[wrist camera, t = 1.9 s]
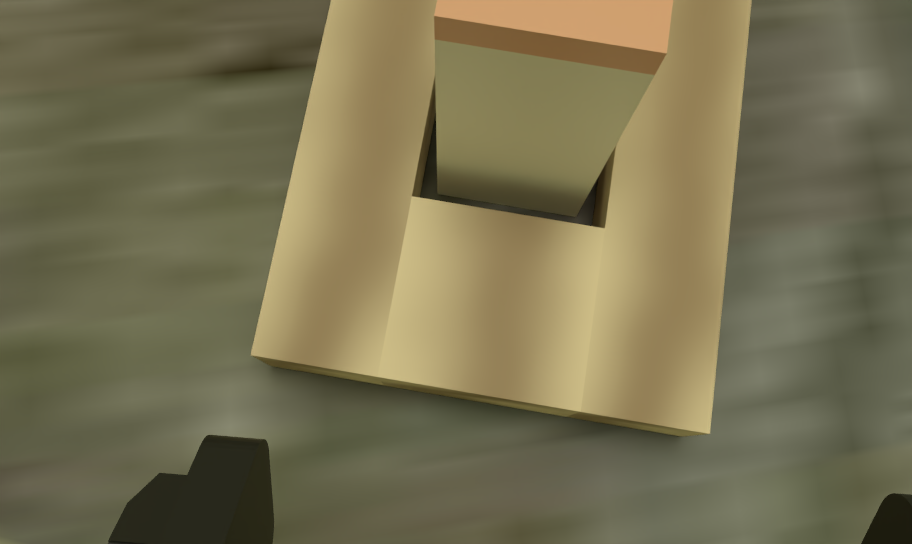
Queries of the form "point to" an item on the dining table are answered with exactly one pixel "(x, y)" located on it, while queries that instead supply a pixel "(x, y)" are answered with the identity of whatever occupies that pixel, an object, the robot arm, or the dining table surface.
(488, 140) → the plug
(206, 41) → the dining table surface
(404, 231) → the wooden peg board
